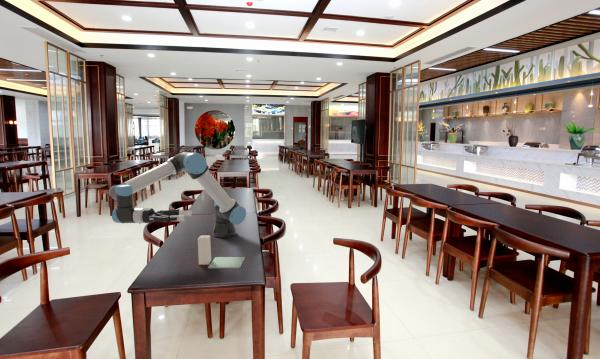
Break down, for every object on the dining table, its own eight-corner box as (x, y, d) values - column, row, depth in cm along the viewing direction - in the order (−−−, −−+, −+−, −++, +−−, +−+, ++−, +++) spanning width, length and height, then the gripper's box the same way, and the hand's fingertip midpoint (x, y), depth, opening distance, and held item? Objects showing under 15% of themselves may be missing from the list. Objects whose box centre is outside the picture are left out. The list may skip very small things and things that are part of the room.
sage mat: (215, 258, 187) (215, 257, 186) (244, 258, 186) (244, 257, 186) (208, 268, 173) (207, 267, 173) (240, 268, 172) (239, 267, 172)
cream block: (201, 261, 182) (200, 235, 180) (211, 261, 182) (210, 235, 180) (198, 264, 177) (197, 238, 175) (208, 264, 177) (207, 238, 175)
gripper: (154, 217, 189) (195, 217, 188) (134, 229, 166) (180, 229, 166) (154, 203, 188) (194, 203, 187) (133, 213, 165) (179, 213, 165)
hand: (187, 215), depth 176 cm, fingers open, 10 cm apart
